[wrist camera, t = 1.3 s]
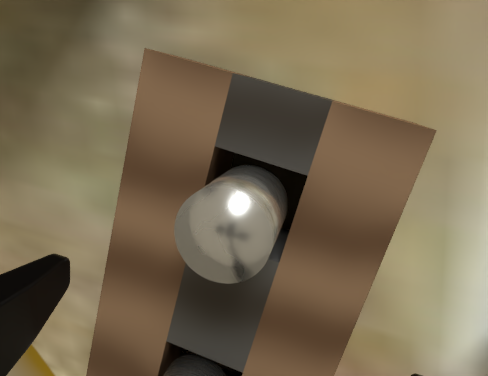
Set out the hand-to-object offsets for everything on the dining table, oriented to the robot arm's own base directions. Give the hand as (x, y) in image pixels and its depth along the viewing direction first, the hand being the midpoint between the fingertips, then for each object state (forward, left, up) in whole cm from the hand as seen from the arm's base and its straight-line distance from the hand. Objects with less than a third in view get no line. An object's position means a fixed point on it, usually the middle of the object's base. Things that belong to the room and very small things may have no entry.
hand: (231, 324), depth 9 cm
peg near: (0, +2, -10) cm, 10 cm away
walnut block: (-6, +2, -15) cm, 16 cm away
